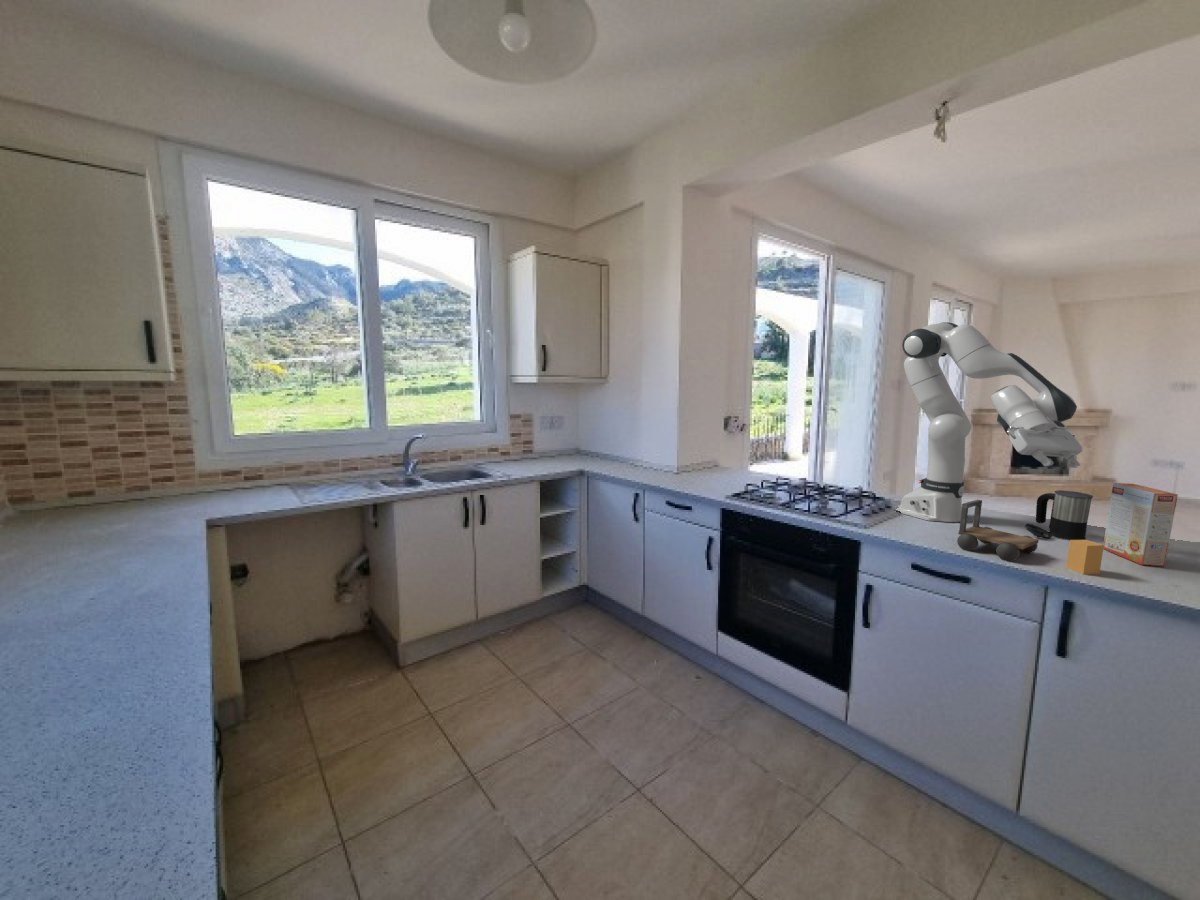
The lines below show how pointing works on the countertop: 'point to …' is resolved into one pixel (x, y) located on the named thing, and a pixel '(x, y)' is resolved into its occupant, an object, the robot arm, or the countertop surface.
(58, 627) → the countertop surface
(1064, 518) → the milk frother
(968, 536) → the trolley
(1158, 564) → the cracker box
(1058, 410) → the robot arm
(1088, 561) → the block
